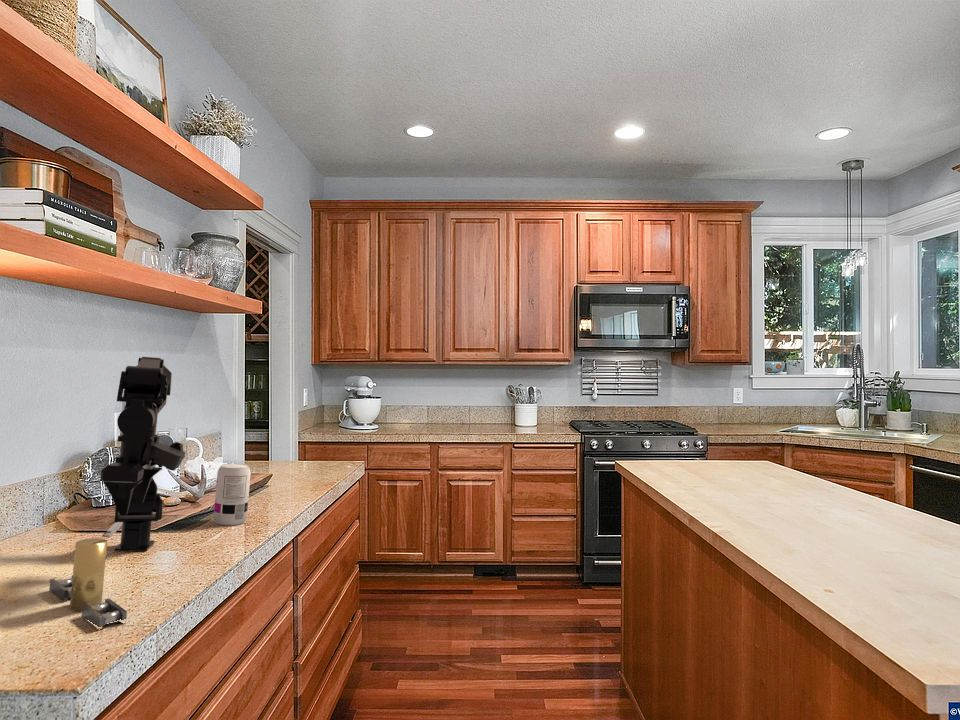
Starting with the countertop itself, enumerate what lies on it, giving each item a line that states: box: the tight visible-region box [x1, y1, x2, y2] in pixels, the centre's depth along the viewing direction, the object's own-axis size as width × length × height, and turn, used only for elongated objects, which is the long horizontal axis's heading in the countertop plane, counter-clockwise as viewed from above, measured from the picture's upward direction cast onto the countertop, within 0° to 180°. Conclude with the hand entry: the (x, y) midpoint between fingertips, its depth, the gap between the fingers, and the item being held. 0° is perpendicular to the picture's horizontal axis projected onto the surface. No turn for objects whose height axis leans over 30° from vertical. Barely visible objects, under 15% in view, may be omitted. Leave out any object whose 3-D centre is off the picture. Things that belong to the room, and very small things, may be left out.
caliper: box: [103, 522, 122, 538], centre depth 152 cm, size 20×1×6 cm, turn 10°
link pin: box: [69, 537, 108, 613], centre depth 105 cm, size 5×5×11 cm
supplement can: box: [213, 462, 252, 526], centre depth 162 cm, size 8×8×15 cm
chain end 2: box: [81, 598, 128, 627], centre depth 100 cm, size 7×4×2 cm, turn 52°
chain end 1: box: [48, 574, 73, 603], centre depth 109 cm, size 7×4×2 cm, turn 52°
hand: (131, 509), depth 120 cm, fingers open, 9 cm apart
